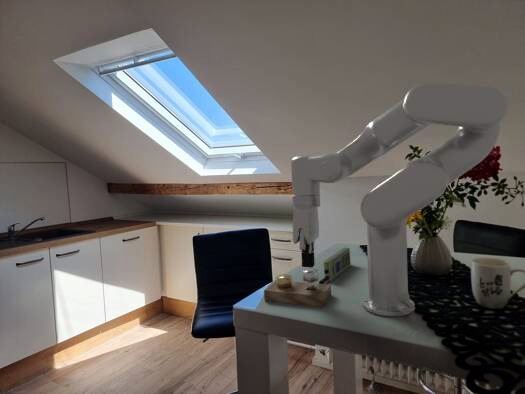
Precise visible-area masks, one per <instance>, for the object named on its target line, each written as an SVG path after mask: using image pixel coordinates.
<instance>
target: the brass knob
mask: <svg viewBox="0 0 525 394" xmlns="http://www.w3.org/2000/svg"><path fill="white" fill-rule="evenodd" d="M275 281H277V287H280V288H288V287H290V286H292V282H293V279H292V275H291V274H286V273H285V274H283V273H282V274H278V275H276V278H275Z"/></svg>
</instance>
